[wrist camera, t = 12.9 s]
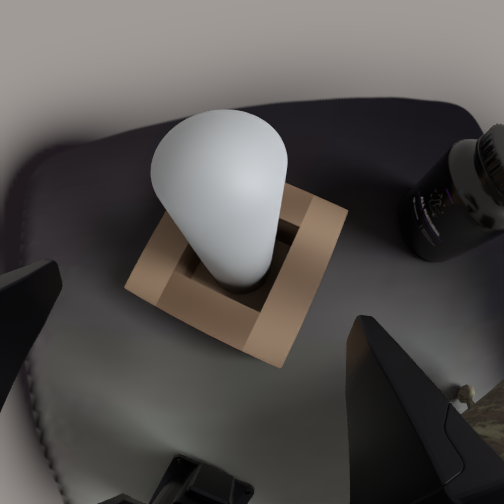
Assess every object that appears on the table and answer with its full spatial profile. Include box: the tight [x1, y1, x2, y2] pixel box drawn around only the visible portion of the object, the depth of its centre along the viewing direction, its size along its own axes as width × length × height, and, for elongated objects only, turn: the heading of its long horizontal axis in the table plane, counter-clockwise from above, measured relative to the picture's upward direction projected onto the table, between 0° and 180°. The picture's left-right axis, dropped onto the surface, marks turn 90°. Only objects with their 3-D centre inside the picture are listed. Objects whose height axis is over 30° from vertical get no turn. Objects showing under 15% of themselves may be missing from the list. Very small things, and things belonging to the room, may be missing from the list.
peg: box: [151, 110, 287, 294], centre depth 15 cm, size 4×4×13 cm
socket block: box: [124, 183, 348, 369], centre depth 19 cm, size 10×10×5 cm
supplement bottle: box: [399, 124, 504, 262], centre depth 17 cm, size 7×7×12 cm
